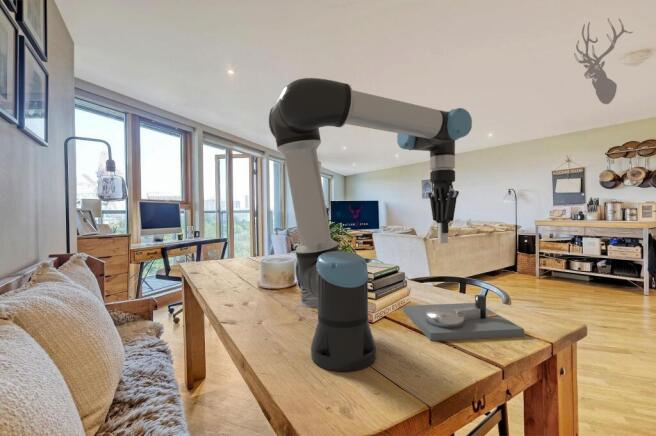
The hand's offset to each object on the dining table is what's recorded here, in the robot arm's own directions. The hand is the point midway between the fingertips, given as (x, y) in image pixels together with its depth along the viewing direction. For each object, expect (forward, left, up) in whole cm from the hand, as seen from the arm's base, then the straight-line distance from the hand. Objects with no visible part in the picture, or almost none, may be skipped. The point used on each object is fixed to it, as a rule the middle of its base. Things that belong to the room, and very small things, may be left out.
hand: (442, 243), depth 98 cm
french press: (-42, +14, -23) cm, 50 cm away
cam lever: (-2, -13, -20) cm, 24 cm away
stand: (0, -10, -22) cm, 25 cm away
